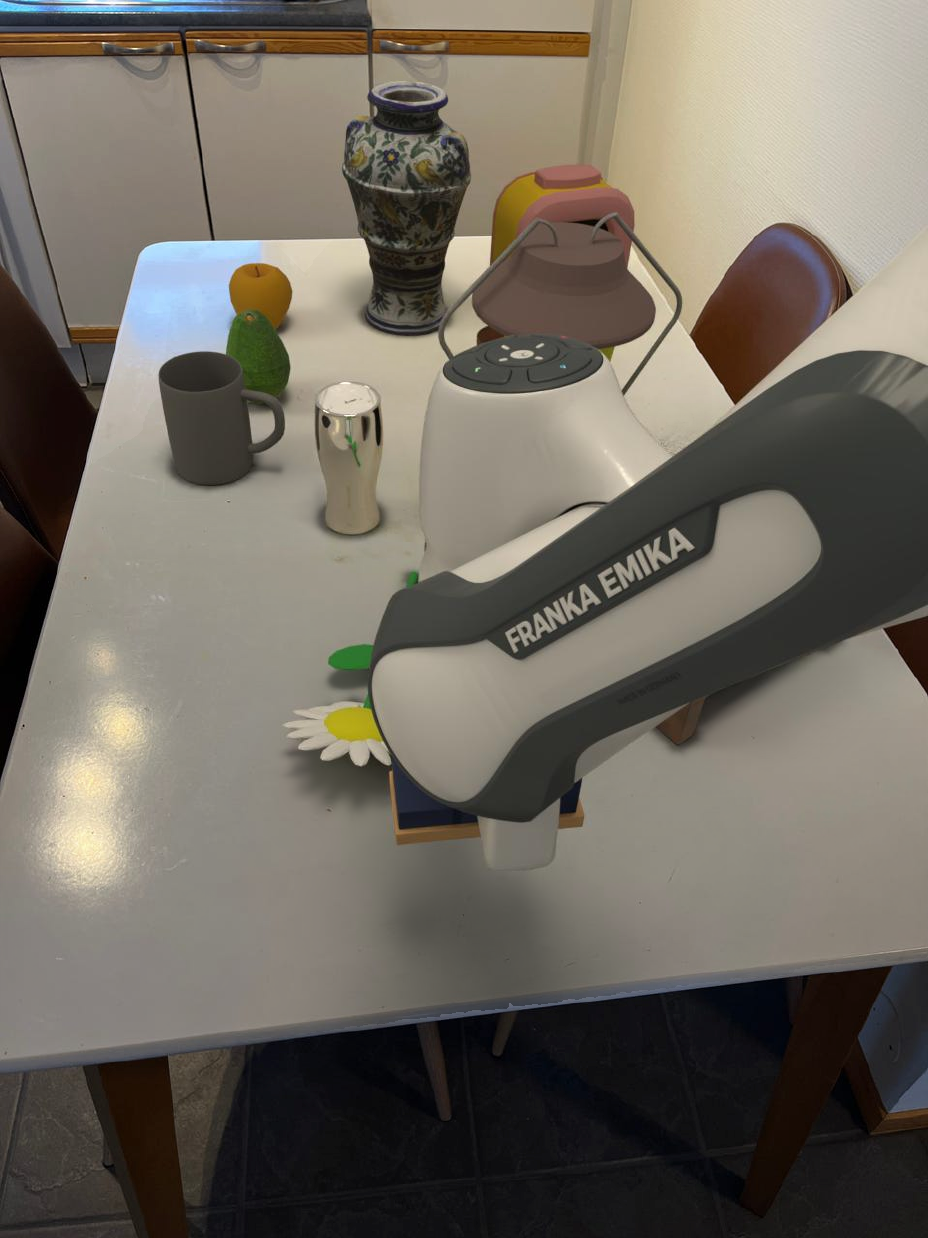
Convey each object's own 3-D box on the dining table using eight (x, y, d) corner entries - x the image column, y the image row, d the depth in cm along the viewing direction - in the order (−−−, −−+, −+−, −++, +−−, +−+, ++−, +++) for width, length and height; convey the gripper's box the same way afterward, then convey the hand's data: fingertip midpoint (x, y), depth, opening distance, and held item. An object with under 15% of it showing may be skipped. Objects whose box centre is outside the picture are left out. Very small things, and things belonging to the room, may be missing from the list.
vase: (369, 282, 149) (364, 65, 129) (477, 300, 147) (489, 81, 126) (330, 330, 138) (318, 100, 117) (447, 351, 135) (455, 118, 114)
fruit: (217, 402, 122) (204, 313, 114) (259, 377, 127) (250, 290, 119) (264, 423, 119) (254, 333, 111) (306, 397, 124) (299, 308, 116)
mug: (161, 480, 110) (142, 386, 102) (192, 437, 117) (177, 345, 108) (276, 498, 109) (266, 404, 100) (301, 453, 115) (294, 362, 107)
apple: (296, 313, 141) (292, 253, 135) (292, 341, 135) (287, 280, 129) (237, 312, 140) (230, 252, 134) (230, 340, 134) (222, 279, 128)
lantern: (650, 438, 121) (702, 191, 100) (648, 531, 107) (707, 268, 87) (455, 413, 123) (466, 167, 102) (428, 502, 109) (435, 238, 89)
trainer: (565, 766, 66) (575, 711, 62) (582, 827, 62) (593, 772, 58) (389, 782, 64) (388, 726, 60) (396, 845, 61) (395, 791, 57)
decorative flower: (352, 586, 102) (263, 791, 77) (355, 547, 99) (263, 747, 75) (471, 608, 101) (418, 821, 77) (477, 570, 98) (424, 779, 74)
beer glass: (312, 531, 105) (302, 410, 94) (332, 494, 110) (325, 375, 99) (374, 542, 104) (371, 421, 93) (391, 504, 109) (391, 386, 98)
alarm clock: (512, 328, 141) (523, 191, 127) (483, 295, 148) (491, 162, 135) (624, 311, 146) (646, 178, 133) (591, 280, 153) (609, 151, 140)
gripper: (603, 770, 45) (570, 923, 55) (522, 509, 60) (507, 665, 69) (470, 782, 44) (460, 936, 54) (421, 514, 59) (420, 672, 69)
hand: (486, 781), depth 62 cm, fingers closed on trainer, 4 cm apart
